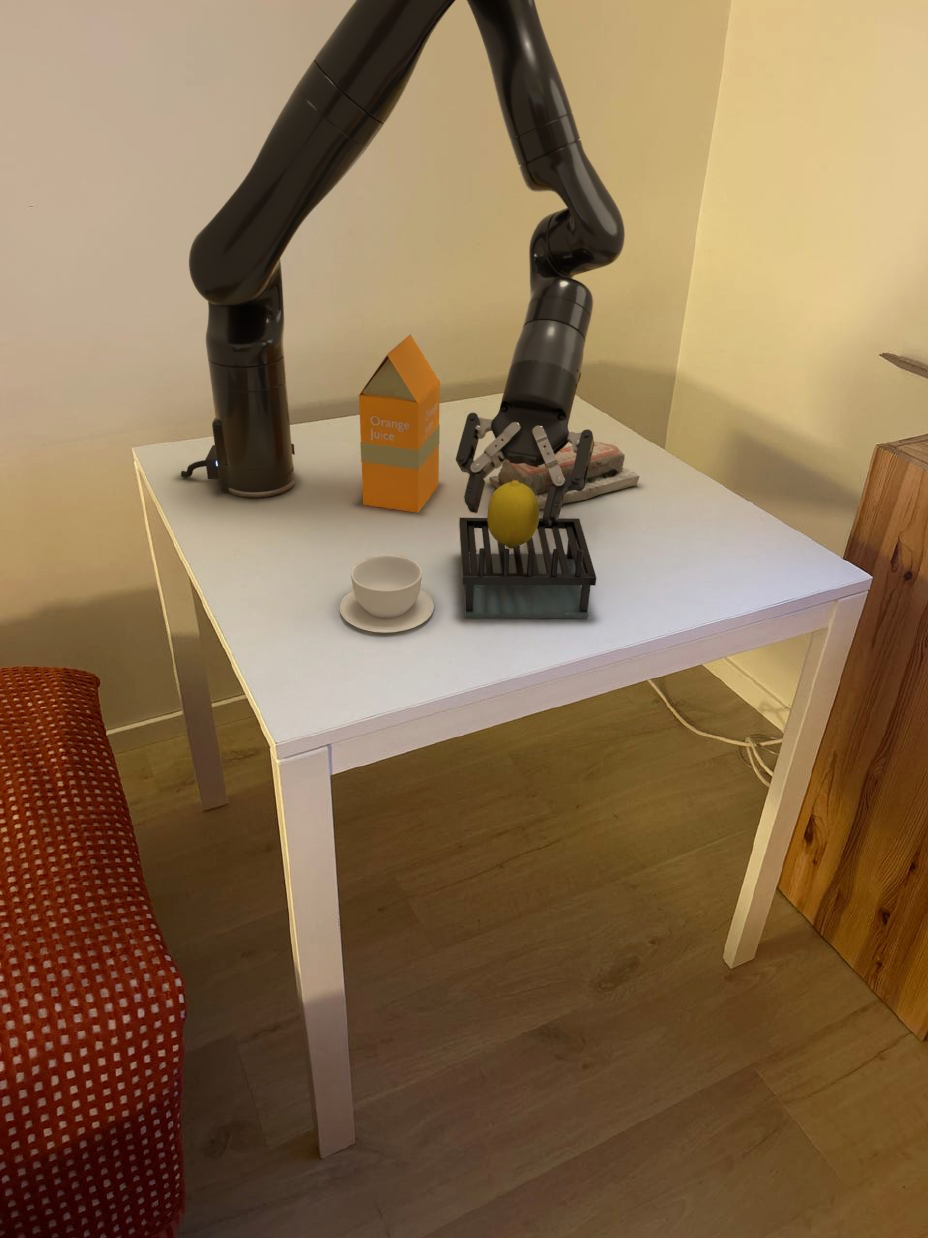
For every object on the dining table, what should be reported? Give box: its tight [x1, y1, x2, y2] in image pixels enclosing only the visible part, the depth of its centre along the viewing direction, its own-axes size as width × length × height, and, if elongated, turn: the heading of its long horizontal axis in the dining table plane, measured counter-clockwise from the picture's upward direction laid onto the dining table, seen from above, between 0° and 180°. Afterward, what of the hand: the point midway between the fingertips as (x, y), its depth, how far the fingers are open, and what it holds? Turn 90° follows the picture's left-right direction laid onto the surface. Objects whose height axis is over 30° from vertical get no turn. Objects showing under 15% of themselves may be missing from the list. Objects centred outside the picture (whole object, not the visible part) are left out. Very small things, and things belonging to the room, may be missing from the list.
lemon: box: [486, 480, 540, 550], centre depth 99 cm, size 6×6×8 cm
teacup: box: [339, 554, 435, 633], centre depth 98 cm, size 10×10×5 cm
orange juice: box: [358, 333, 441, 514], centre depth 117 cm, size 8×9×20 cm
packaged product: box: [488, 441, 640, 510], centre depth 124 cm, size 18×5×10 cm
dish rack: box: [458, 517, 597, 619], centre depth 101 cm, size 14×13×8 cm
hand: (509, 516), depth 97 cm, fingers open, 7 cm apart
